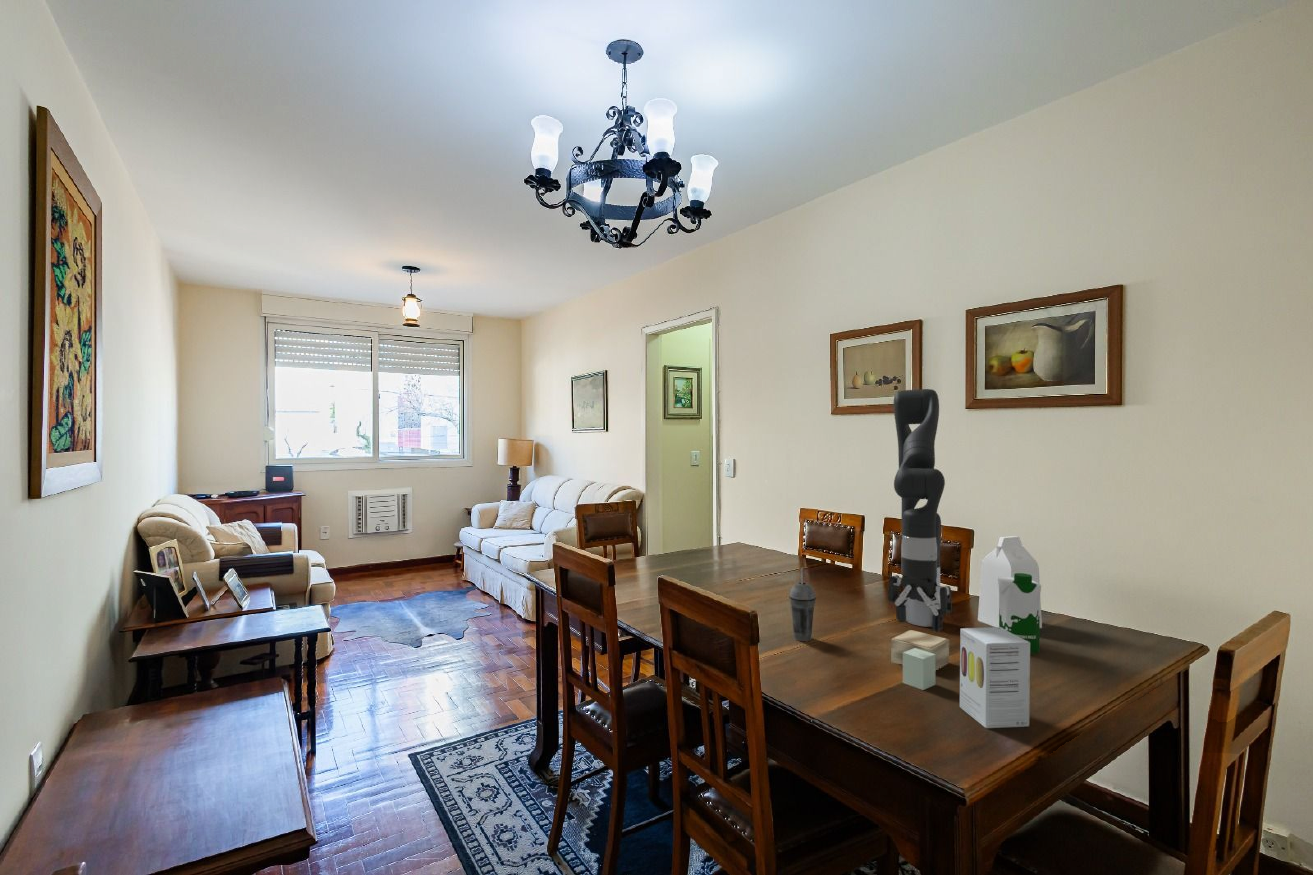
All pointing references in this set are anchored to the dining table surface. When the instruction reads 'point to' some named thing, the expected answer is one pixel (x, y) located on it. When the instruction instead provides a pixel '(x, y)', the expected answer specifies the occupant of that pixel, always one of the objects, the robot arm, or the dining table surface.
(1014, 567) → the milk
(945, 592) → the robot arm
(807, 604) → the beverage cup
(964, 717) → the dining table surface
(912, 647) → the beige box
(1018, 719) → the supplement box
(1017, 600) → the milk carton
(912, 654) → the block
